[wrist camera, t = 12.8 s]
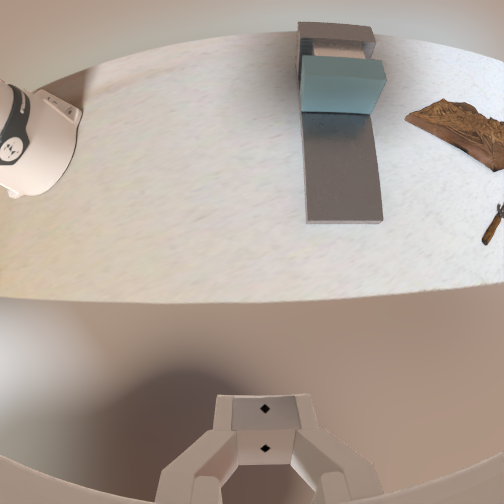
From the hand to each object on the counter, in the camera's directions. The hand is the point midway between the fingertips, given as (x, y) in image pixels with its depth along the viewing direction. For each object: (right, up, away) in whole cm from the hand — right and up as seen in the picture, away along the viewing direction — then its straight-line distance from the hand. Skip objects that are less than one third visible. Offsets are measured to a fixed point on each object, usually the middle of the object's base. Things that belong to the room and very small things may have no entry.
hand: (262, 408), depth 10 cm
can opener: (+35, +9, +26) cm, 44 cm away
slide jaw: (+10, +24, +27) cm, 38 cm away
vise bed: (+10, +20, +29) cm, 37 cm away
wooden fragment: (+34, +23, +28) cm, 49 cm away
